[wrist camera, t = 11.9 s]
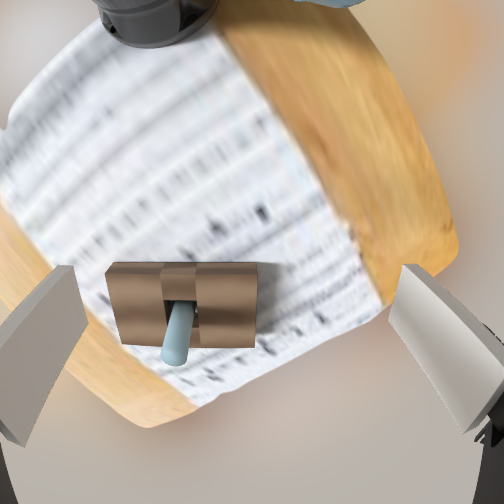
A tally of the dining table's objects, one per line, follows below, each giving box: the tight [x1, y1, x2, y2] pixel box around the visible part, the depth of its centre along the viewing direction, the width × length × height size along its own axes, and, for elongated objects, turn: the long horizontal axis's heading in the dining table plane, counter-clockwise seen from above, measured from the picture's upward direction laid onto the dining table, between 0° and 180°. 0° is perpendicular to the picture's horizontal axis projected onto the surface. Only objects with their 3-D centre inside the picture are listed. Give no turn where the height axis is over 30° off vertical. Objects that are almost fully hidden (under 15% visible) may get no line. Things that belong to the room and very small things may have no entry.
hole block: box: [105, 262, 258, 348], centre depth 40 cm, size 12×20×4 cm, turn 89°
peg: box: [161, 300, 196, 366], centre depth 36 cm, size 3×3×12 cm
